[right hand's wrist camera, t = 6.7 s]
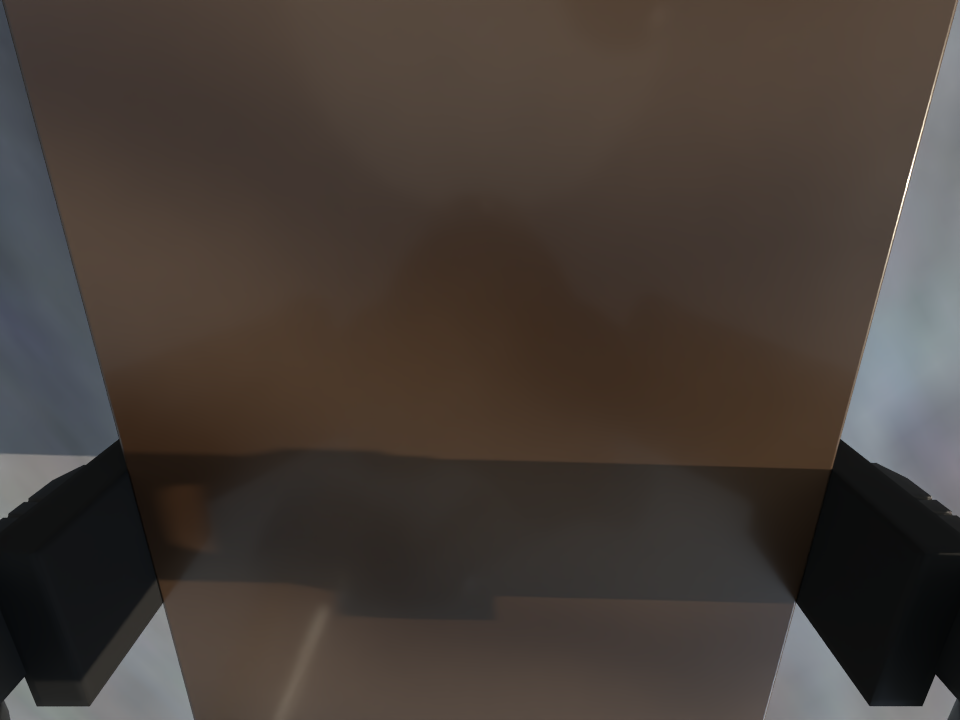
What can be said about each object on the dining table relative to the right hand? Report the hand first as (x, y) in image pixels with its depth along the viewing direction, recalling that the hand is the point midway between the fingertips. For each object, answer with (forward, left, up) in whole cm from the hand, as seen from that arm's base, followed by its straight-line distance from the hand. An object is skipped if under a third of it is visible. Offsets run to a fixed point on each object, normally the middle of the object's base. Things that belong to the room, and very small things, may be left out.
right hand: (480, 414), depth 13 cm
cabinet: (+3, +5, -6) cm, 8 cm away
